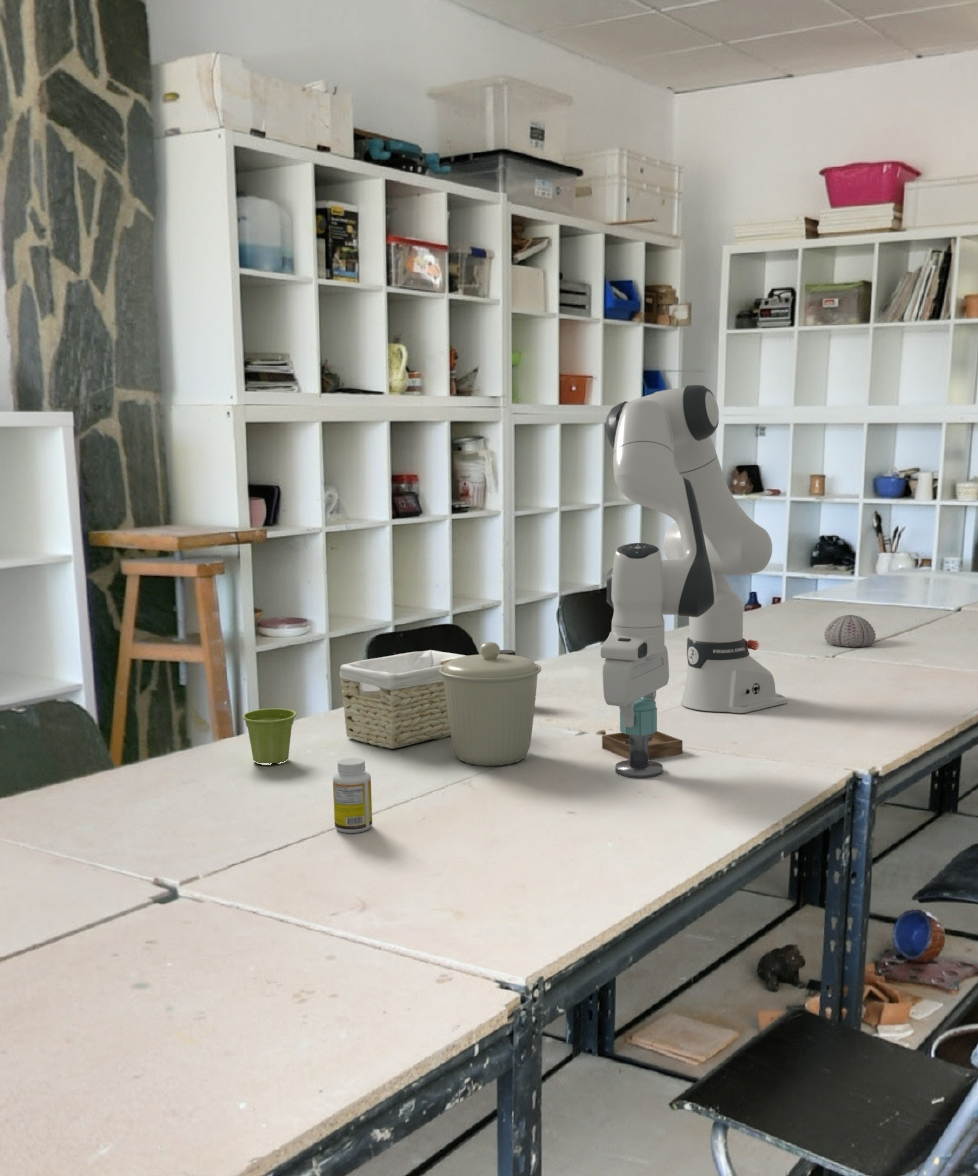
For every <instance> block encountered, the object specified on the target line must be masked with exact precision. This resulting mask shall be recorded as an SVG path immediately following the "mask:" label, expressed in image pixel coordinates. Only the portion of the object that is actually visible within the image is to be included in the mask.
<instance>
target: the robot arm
mask: <svg viewBox="0 0 978 1176" xmlns="http://www.w3.org/2000/svg"><path fill="white" fill-rule="evenodd" d="M718 405H719V404H718V402H717V400H716V397H715V396H714V394H713V392H712V390H711V389H709V388H707V387H706V386H705V385H701V384H700V385H699V384H690V385H686V386H685V387H677V388H670V389H663V390H660V391H659V390H658V391H655V392H653V393H652V394H648V395H647V394H646V395H644V396H641V397H638V398H635V399H632V400H630V401H623V402H620V403H619V404H617V405H615V406H612V408H611V409H610V410H609V412H608V414H607V416H606V421H605V430H606V431H605V432H606V436H607V439H608V442H609V444H610V445H611V447H612V449H613V457H612V458H613V462H612V467H613V469H612V470H613V478H614V483H615V485H616V487H617V489H618V490H619V491H620V493H621V494H622V495H623V496H625V497H626V498H627V499H628V500H630V501H632V502H633V503H635V504H637V505H639V506H642V507H645V508H648V509H652V510H655V511H658V512H660V513H662V514H665V515H666V516H668V517H670V518H672V519H673V520H674V521H675V523H673V524H671V525H670V526H669V527H668V529H667V530H666V532H665V535H664V538H663V551H664V555H665V558H666V559H663V558H662V553H661V550H660V547H657V545H654V544H651V543H650V544H649V543H646V542H633V543H632V542H631V543H627V544H623V545H621V546H618V547H617V548H616V549H615V552H614V558H613V566H612V567H611V568H610V570H608V572H607V573H606V575H605V576H606V578H605V579H606V602H607V604H609V606H611V608H612V609H613V615H612V619H611V631H610V632H609V635H608V637H607V638H606V639H605V641H604V642H603V643H602V644H601V646H600V653H599V654H600V657H601V659H604V660H603V664H602V690H603V698H604V701H605V704H606V705H608V706H612V707H613V706H614V707H618V708H619V712H620V711H621V713H622V716H623V726H625V727H633V726H635V725H636V715H634V711H633V707H634V701H636V700H638V699H640V698H642V699H650V700H654V701H655V702H656V697H657V691H658V690H659V689H661V688H663V687H666V686H667V685H668V683H669V679H670V664H669V653H668V648H667V646H666V644H665V619H664V615H665V616H666V615H667V616H668V615H669V616H670V615H671V616H672V615H673V616H680V617H688V632H689V633H688V634H689V635H688V637H687V639H686V657H687V671H686V672H687V673H686V680H685V681H686V682H685V686H684V691H683V694H682V698H681V701H680V704H681V706H684V707H685V708H688V709H692V710H696V711H697V710H698V711H704V712H717V713H718V712H721V713H722V712H723V713H735V714H744V713H745V714H746V713H750V712H755V711H759V710H762V709H767V708H771V707H775V706H779V705H783V704H784V705H785V704H787V703H788V702H787V701H788V700H787V697H785V696H784V695H783V694H780V693H777V692H776V683H775V679H774V676H773V673H771V671H770V670H768V669H767V668H766V667H764V666H763V665H762V664H761V663H760V662H758V661H757V660H756V659H755V658H753V657H752V656H751V654H750V651H749V650H752V651H757V650H758V649H759V648H760V642H758V640H753V639H748V640H746V639H745V638H744V635H743V632H744V631H743V630H744V625H743V624H744V606H743V602H742V599H741V598H740V597H739V596H738V595H737V593H735V592H734V590H733V589H732V588H731V587H730V585H729V583H728V581H727V577H726V575H729V576H730V575H731V576H744V575H751V574H757V573H760V572H762V571H764V569H765V568H766V567H767V566H768V564H769V563H770V561H771V559H772V553H773V542H772V538H771V536H770V534H769V533H768V531H767V530H766V529H765V528H764V527H762V526H760V525H759V524H758V523H757V522H755V521H754V520H753V519H752V518H750V517H749V516H748V514H747V513H746V512H745V511H744V510H743V508H742V506H741V505H740V504H739V503H738V502H737V500H736V499H735V497H734V496H733V494H732V492H731V491H730V488H729V487H728V484H727V482H726V478H725V475H724V473H723V472H724V471H723V470H722V467H721V464H720V460H719V457H718V455H717V451H716V448H715V446H714V441H713V440H712V437H711V436H712V435H713V434H714V433H715V432H716V430H717V428H718V426H719V423H720V421H719V420H720V419H719V418H720V409H719V406H718Z"/></svg>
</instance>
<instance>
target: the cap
mask: <svg viewBox="0 0 978 1176" xmlns="http://www.w3.org/2000/svg"><path fill="white" fill-rule="evenodd" d="M656 703H657V702H656V700H655V701H654V700H650V699H643V697H642V698H640V699H638V700H636V701H634V707H633V711H634V715H636V725H635V726H633V727H625V726H623V716H622V713H621V711H620V710H619V731H620V733H621V732H623V733H625V734H628V735H638V736H641V735H650V734H654V733H655V732H656V731H658V708H657V705H656Z"/></svg>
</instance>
